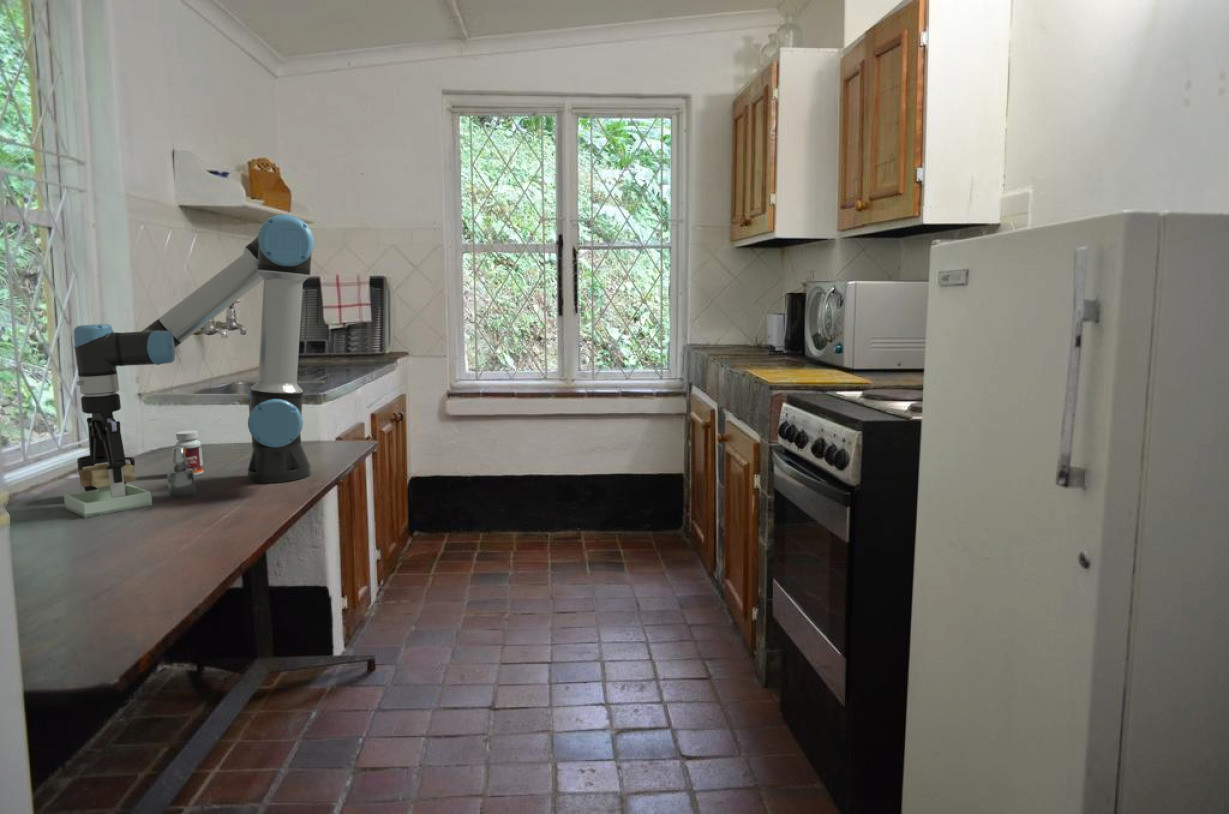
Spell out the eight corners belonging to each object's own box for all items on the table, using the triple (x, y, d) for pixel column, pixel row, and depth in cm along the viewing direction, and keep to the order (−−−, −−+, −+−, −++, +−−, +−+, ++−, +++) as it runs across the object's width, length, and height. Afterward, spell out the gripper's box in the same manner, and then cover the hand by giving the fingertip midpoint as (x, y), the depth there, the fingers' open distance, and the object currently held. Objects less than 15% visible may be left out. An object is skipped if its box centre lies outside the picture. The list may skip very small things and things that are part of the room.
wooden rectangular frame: (122, 476, 205) (120, 461, 205) (135, 480, 200) (133, 465, 199) (76, 483, 198) (74, 468, 198) (88, 488, 193) (86, 473, 192)
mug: (130, 497, 208) (126, 458, 206) (75, 501, 206) (70, 461, 205) (143, 489, 216) (139, 451, 214) (90, 493, 214) (85, 454, 213)
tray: (130, 496, 209) (128, 483, 209) (152, 504, 200) (150, 492, 200) (65, 508, 199) (63, 495, 199) (85, 518, 190) (84, 504, 190)
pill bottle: (177, 478, 228) (172, 434, 226) (178, 473, 234) (174, 431, 232) (203, 475, 230) (199, 432, 229) (204, 470, 236) (200, 429, 234)
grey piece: (200, 492, 211) (195, 445, 209) (189, 498, 205) (184, 449, 204) (176, 493, 211) (171, 445, 209) (165, 499, 205) (160, 450, 204)
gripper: (66, 392, 201) (77, 490, 204) (97, 399, 187) (109, 504, 190) (102, 389, 206) (113, 484, 210) (135, 395, 192) (146, 497, 196)
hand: (111, 493), depth 200 cm, fingers closed on wooden rectangular frame, 8 cm apart
